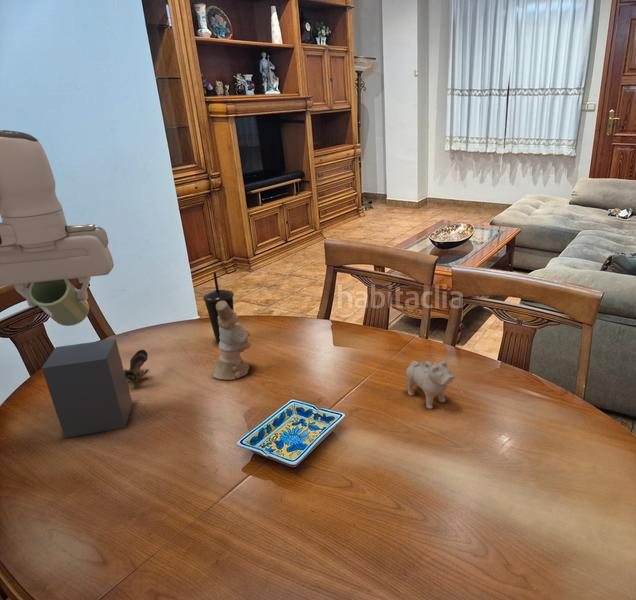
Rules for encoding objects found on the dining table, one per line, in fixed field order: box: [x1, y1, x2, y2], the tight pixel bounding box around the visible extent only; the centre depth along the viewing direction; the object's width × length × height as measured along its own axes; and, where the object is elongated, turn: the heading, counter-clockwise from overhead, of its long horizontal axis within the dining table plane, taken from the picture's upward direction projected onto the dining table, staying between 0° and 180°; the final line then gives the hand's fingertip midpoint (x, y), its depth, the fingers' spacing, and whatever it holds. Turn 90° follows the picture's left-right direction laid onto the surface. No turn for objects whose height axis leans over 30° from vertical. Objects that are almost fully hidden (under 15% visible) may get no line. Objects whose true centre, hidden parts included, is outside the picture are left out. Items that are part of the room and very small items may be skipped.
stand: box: [41, 338, 133, 439], centre depth 104 cm, size 11×9×16 cm
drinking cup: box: [202, 271, 235, 346], centre depth 135 cm, size 8×8×20 cm
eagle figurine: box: [124, 349, 149, 390], centre depth 120 cm, size 8×7×9 cm
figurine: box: [212, 301, 251, 381], centre depth 120 cm, size 9×8×20 cm
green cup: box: [27, 279, 90, 327], centre depth 94 cm, size 6×6×10 cm
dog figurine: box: [405, 360, 455, 410], centre depth 109 cm, size 5×13×11 cm, turn 39°
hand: (59, 302), depth 94 cm, fingers closed on green cup, 6 cm apart
